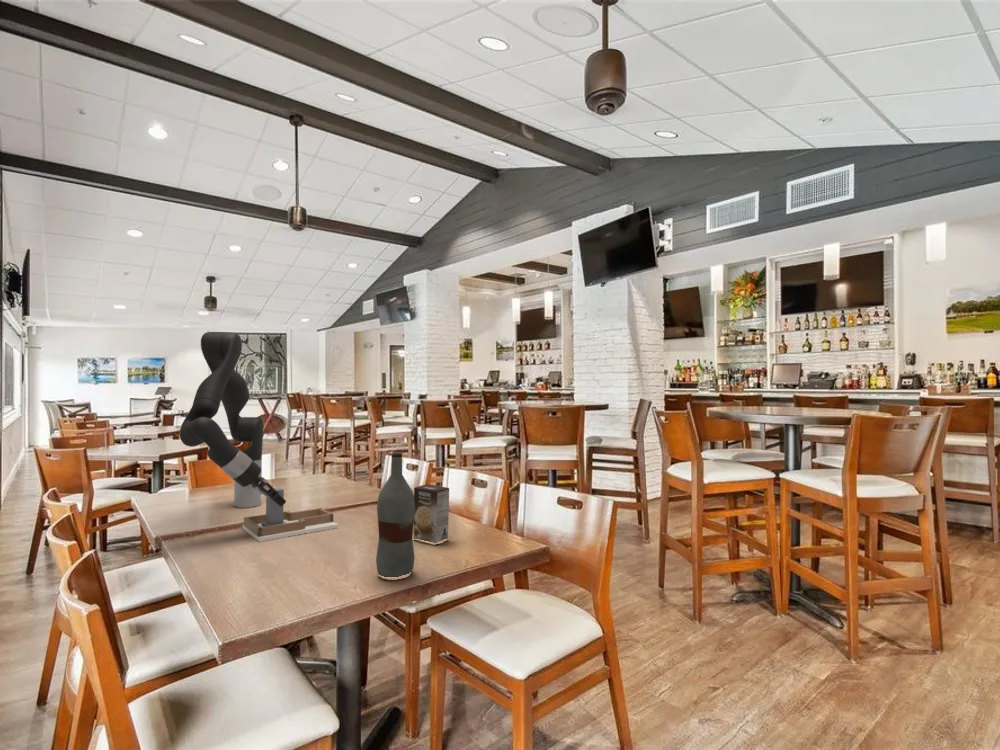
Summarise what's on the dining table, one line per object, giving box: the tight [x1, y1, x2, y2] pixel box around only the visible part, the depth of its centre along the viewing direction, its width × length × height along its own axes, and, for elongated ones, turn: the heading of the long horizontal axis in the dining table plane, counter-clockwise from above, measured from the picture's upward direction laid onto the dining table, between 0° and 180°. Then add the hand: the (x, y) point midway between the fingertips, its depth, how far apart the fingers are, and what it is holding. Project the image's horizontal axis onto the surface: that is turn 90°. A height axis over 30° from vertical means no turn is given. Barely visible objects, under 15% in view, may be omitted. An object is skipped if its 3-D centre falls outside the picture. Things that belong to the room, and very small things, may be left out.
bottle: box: [375, 451, 416, 577], centre depth 131 cm, size 9×9×30 cm
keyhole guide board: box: [242, 507, 339, 543], centre depth 170 cm, size 18×24×4 cm
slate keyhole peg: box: [261, 487, 286, 527], centre depth 167 cm, size 6×6×12 cm
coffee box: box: [412, 483, 450, 543], centre depth 159 cm, size 9×6×16 cm
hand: (281, 502), depth 168 cm, fingers closed on slate keyhole peg, 4 cm apart
